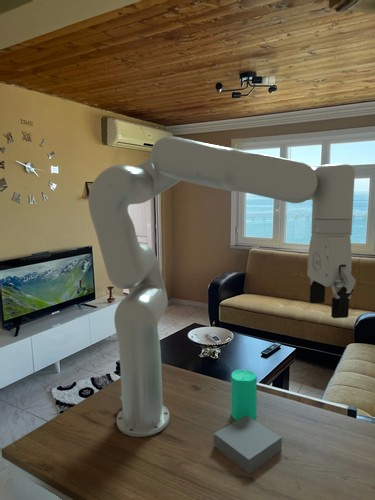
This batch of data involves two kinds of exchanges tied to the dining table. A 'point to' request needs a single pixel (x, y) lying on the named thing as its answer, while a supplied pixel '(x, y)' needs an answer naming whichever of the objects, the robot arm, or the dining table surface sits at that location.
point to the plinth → (247, 443)
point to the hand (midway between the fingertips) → (327, 309)
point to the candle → (244, 394)
